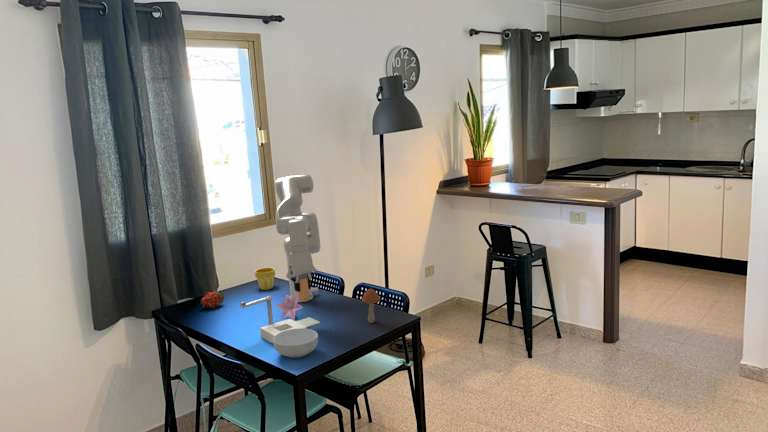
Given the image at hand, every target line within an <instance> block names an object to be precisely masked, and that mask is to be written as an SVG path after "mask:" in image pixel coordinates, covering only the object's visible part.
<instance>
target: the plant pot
mask: <svg viewBox="0 0 768 432" xmlns="http://www.w3.org/2000/svg"><path fill="white" fill-rule="evenodd" d="M254 275H255V278H256V280H257V283H258V286H259V289H260V290H263V291H267V290H270V289H273V288H274V283H275V281H274V280H275V276H276V270H275V268H274V267H262V268H257V269H256V270H255V271H254Z"/></svg>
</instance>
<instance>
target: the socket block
mask: <svg viewBox="0 0 768 432" xmlns="http://www.w3.org/2000/svg"><path fill="white" fill-rule="evenodd" d="M266 308H267V317H268V325H264V326H262V327H260V328H259V330H260V337H261V338H263V340H265V341H267V342H269V343H270V344H273V338H274V336H275V335H277V334H278V333H280V332H283V331H286V330H290V329H297V328H304V329H308V328H307V327H306V326H304V325H302V324H300V323H298V322H296V321H297V320H292V319H291V318H288V319H284V320H281V321H278V322H275V323H274V317H273V307H272V300H268V301H266ZM273 345H274V344H273Z"/></svg>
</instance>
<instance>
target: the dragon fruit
mask: <svg viewBox="0 0 768 432" xmlns="http://www.w3.org/2000/svg"><path fill="white" fill-rule="evenodd" d="M224 299H225V298H224V294H223V293H221V291H215V290H212V291H210V292H209V291H207V292H206V294H204V295H203V297H202V299H201V301H199V304H200V305H202V307H203V308H205V309H206V308H207V309H210V308H212V309H215V308H216V307H219V306H220V304H223V302H224Z"/></svg>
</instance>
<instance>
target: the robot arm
mask: <svg viewBox="0 0 768 432" xmlns="http://www.w3.org/2000/svg"><path fill="white" fill-rule="evenodd" d="M274 188H275V192H276V195H277V197H278V198H279V200H280V204H279V205H278V206H277V209H276V210H275V216H274V219H275V227H276V231H277V233H278V234H279V235H282V236H283V235H288V237H285V239H284V240H283V249H284V253H285V257H286V263H287V273H286V276H285V277H286V278H287V279H288V282H289V283H288V285H289V293H290V294H289V295H288V296H289V297H290V298H292V297H293V296H295V295H297V294H298V292H300V283H299V282H298V279H299V276H300V275H302V274H306V273H307V278H308V289H309V301H311V300H313V299H314V294H313V293H315V292H318V291H319V287H312V282H311V280H312V278H313V276H314V274H315V273H316V272H317V271H318V270H317V268H316V267H315V266H314V264H313V262H314V261H313V257H312V255H313V254H317V253H319V252H320V250H321V239H320V238H321V237H320V230H319V222H318V218H317V215H316V213H315V212H311V211H307V212H302V209H301V207H302V205H303V194H310V193H312V192H313V191H314V181H313V178H312V176H311V175H310V174H298V175H288V176H285V177H279V178H277V179H276V180H275V183H274ZM299 303H300V302H299V299H298V302H297V304H299Z"/></svg>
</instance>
